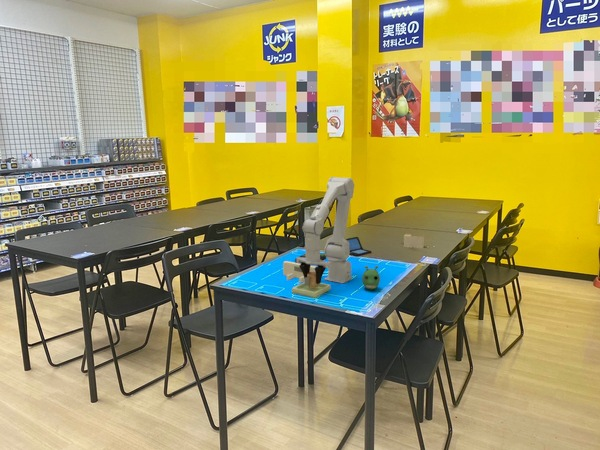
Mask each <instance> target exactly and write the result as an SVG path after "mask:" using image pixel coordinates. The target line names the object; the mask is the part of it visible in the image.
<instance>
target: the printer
mask: <svg viewBox="0 0 600 450" xmlns="http://www.w3.org/2000/svg"><path fill="white" fill-rule="evenodd" d="M299 265H301V263H295V262H293V261H288V260H285V261H283V263H282V268H283V269H282V271H283V275H282V276H286V281H291V280H292V279H294V278H297V279H298V280H299V281H298V283H300V284H302V283H304V282H305V279H304V275H303V272H302V270H301V269H300V267H299ZM315 267H317V266H316V265H311V266H310V272H315Z"/></svg>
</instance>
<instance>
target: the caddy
mask: <svg viewBox="0 0 600 450" xmlns="http://www.w3.org/2000/svg"><path fill="white" fill-rule="evenodd" d="M304 282H305V285H306V286H308V287H318V286H319V284H316V272H308V273H307V277H306V278H305V281H304Z"/></svg>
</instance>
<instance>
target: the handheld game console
mask: <svg viewBox="0 0 600 450" xmlns="http://www.w3.org/2000/svg"><path fill="white" fill-rule="evenodd" d="M345 239H346V240H347V241H348V242H349V250H350V253H349V256H352V255H353V256H352V257H361V256H365V255H369V254H372V250H368V249H365V248H363V246H362V243H361V241H360V238H359V237H358V236H355V237H354V236H353V237H349V238H345Z"/></svg>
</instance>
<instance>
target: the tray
mask: <svg viewBox="0 0 600 450" xmlns="http://www.w3.org/2000/svg"><path fill="white" fill-rule="evenodd" d="M330 290H331V284H328V283H323V282H321V283H319V286H318V287H308V286H306V285H305V281H303V282H301V283H300V284H297V285H296V286H293V287H292V288H291V294H295V295H298V296H299V295H300V296H304V297H308V298H313V299H316V298H318V297H320V296H322V295H324V294H325V293H328V292H329V291H330Z"/></svg>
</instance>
